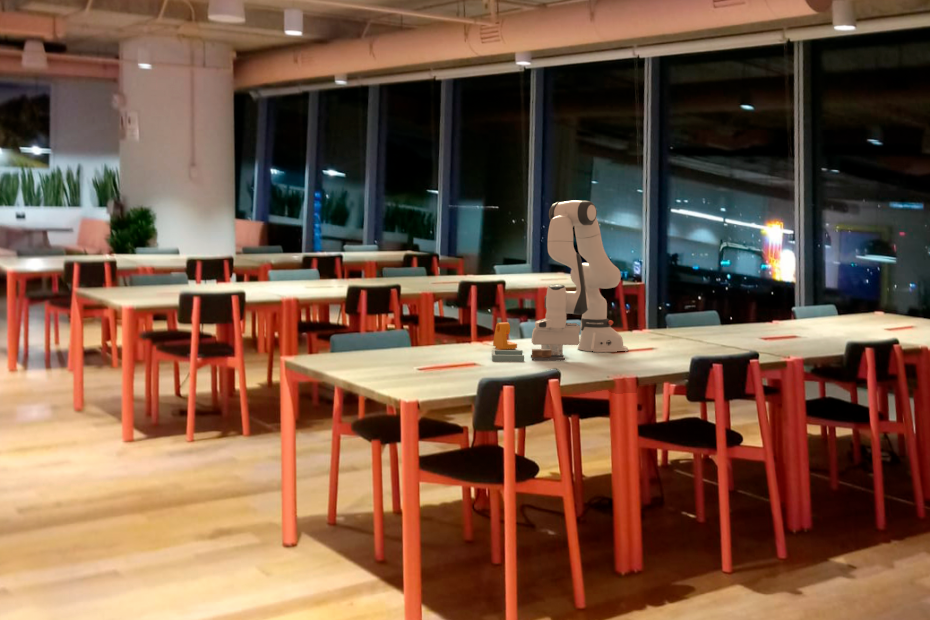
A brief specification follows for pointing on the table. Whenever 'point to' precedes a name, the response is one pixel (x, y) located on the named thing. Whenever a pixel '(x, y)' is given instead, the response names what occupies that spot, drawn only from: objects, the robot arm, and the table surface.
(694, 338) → the table surface
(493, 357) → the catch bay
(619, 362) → the table surface
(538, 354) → the chip
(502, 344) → the bracket
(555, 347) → the skincare box
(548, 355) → the chip
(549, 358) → the slot rails
